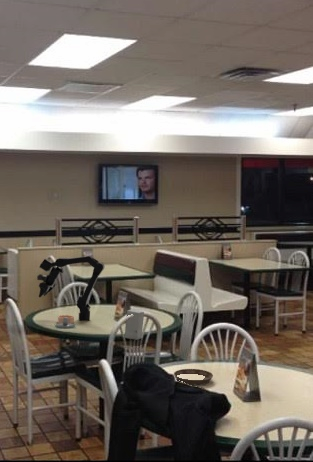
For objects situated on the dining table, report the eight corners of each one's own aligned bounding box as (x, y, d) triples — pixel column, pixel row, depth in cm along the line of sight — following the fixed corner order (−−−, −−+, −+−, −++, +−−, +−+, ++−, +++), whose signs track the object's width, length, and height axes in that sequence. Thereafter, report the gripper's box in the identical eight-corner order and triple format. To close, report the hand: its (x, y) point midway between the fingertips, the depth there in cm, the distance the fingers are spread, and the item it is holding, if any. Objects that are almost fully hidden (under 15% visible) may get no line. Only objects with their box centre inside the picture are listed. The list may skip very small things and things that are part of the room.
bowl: (72, 321, 397) (72, 315, 397) (74, 324, 388) (74, 318, 387) (57, 321, 394) (57, 315, 394) (59, 324, 385) (59, 318, 385)
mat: (73, 324, 386) (73, 324, 386) (76, 329, 375) (76, 328, 375) (54, 325, 383) (54, 324, 383) (56, 329, 371) (56, 328, 371)
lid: (73, 324, 386) (73, 315, 386) (76, 328, 375) (76, 319, 375) (54, 324, 383) (54, 315, 382) (56, 328, 372) (57, 319, 371)
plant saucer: (176, 386, 273) (176, 379, 272) (171, 374, 290) (171, 368, 290) (216, 386, 275) (216, 380, 274) (208, 375, 292) (208, 368, 292)
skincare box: (124, 338, 358) (125, 310, 357) (130, 335, 364) (131, 308, 363) (137, 340, 354) (138, 312, 353) (143, 337, 360) (144, 310, 359)
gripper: (47, 268, 411) (35, 288, 412) (37, 270, 392) (26, 291, 394) (61, 276, 410) (50, 297, 411) (52, 279, 391) (41, 300, 392)
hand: (41, 296), depth 402 cm, fingers open, 9 cm apart
